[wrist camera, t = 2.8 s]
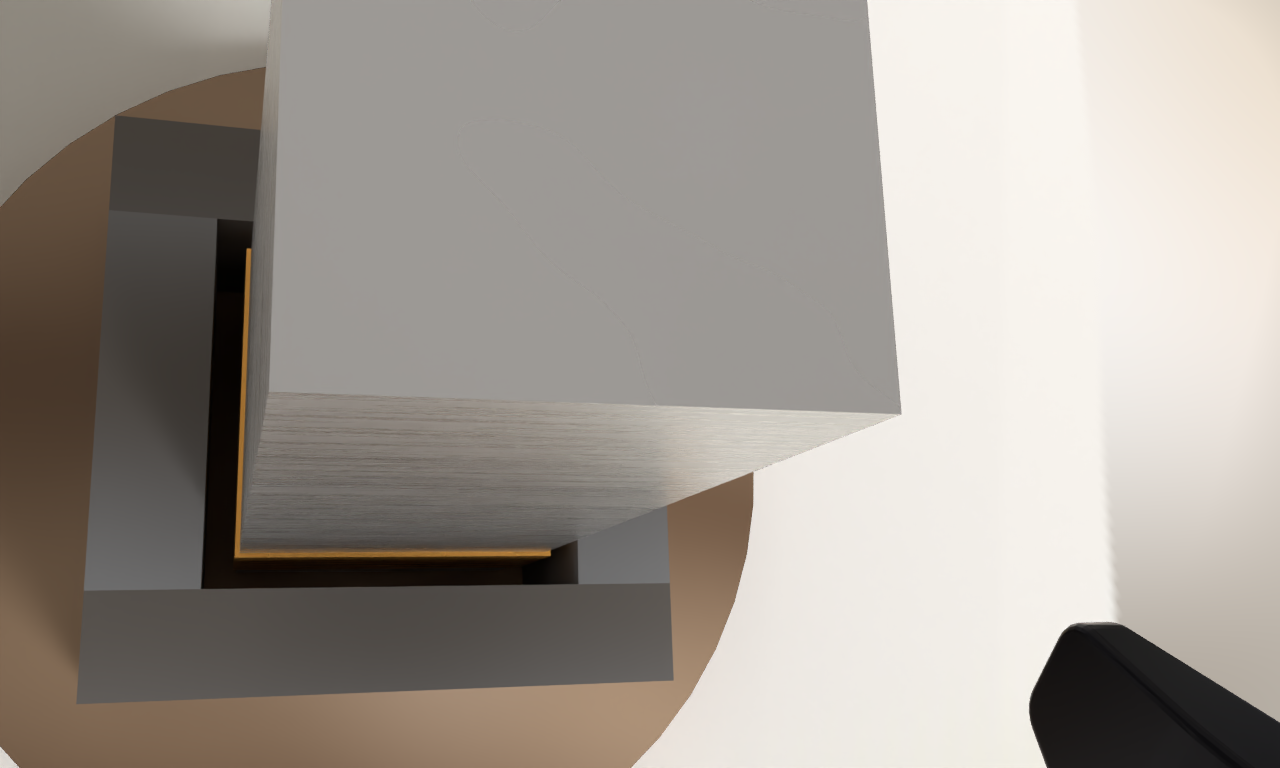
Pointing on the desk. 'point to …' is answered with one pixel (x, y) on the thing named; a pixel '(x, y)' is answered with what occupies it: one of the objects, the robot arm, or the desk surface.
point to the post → (549, 270)
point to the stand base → (205, 519)
